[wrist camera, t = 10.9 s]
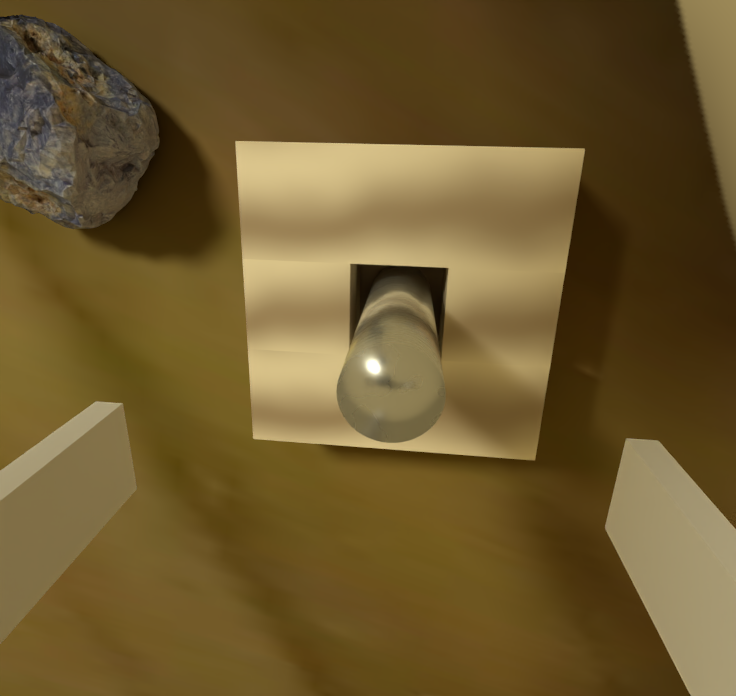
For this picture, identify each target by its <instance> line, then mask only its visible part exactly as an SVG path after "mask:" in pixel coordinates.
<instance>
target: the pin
mask: <svg viewBox="0 0 736 696" xmlns="http://www.w3.org/2000/svg"><path fill="white" fill-rule="evenodd" d="M336 393H337V401H338V405H339V408H340V411H341V413H342V415H343V417H344V418H345V419H346V421H347V422H348V423H349V424H350V426H351V427H352V428H354V429H355V430H356V431H357V432H359V433H360V434H362V435H364V436H366V437H368V438H370V439H373V440H375V441H380V442H386V443H399V442H405V441H409V440H412V439H415V438H417V437H419V436H421V435H423V434H424V433H426V432H427V431H428V430H429V429H430V428H432V427H433V425H434V424H435V423H436V422H437V420H438V419H439V417H440V415H441V413H442V411H443V408H444V405H445V399H446V390H445V383H444V377H443V370H442V363H441V357H440V350H439V343H438V337H437V330H436V323H435V317H434V310H433V303H432V297H431V290H430V285H429V282H428V280H427V278H426V277H425V275H424V274H423V273H422V272H421V271H420V270H418V269H417V268H415V267H413V266H394V265H392V266H389V267H387V268H385V269H384V270H382V271H381V272H380V273H379V274H378V275H377V277H376V278H375V280H374V282H373V284H372V287H371V290H370V293H369V295H368V298H367V301H366V304H365V306H364V309H363V312H362V315H361V318H360V320H359V323H358V326H357V329H356V331H355V334H354V337H353V340H352V343H351V345H350V348H349V351H348V354H347V356H346V359H345V362H344V365H343V367H342V370H341V373H340V376H339V379H338V383H337V391H336Z"/></svg>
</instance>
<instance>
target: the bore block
mask: <svg viewBox="0 0 736 696" xmlns="http://www.w3.org/2000/svg"><path fill="white" fill-rule="evenodd" d="M235 142H236V159H237V175H238V192H239V208H240V225H241V242H242V258H243V275H244V291H245V308H246V325H247V341H248V358H249V374H250V391H251V407H252V424H253V439H262V440H275V441H288V442H301V443H314V444H327V445H340V446H353V447H366V448H379V449H392V450H405V451H418V452H431V453H444V454H457V455H470V456H483V457H496V458H509V459H522V460H535V457H536V451H537V445H538V439H539V433H540V426H541V420H542V414H543V408H544V401H545V395H546V389H547V383H548V377H549V370H550V364H551V358H552V352H553V345H554V339H555V333H556V327H557V321H558V314H559V308H560V302H561V296H562V290H563V283H564V277H565V271H566V265H567V258H568V252H569V246H570V240H571V234H572V227H573V221H574V215H575V209H576V202H577V196H578V190H579V184H580V178H581V171H582V165H583V159H584V153H585V149H578V148H531V147H485V146H438V145H391V144H344V143H297V142H250V141H235ZM392 265H394V266H413V267H415V268H417V269H418V270H420V271H421V272H422V273H423V274H424V275H425V277H426V278H427V280H428V282H429V285H430V290H431V297H432V303H433V310H434V317H435V323H436V330H437V337H438V343H439V350H440V357H441V363H442V370H443V377H444V383H445V390H446V399H445V405H444V408H443V411H442V413H441V415H440V417H439V419H438V420H437V422H436V423H435V424H434V425H433V427H432V428H430V429H429V430H428V431H427V432H426V433H424V434H423V435H421V436H419V437H417V438H415V439H412V440H409V441H405V442H399V443H386V442H380V441H375V440H373V439H370V438H368V437H366V436H364V435H362V434H360V433H359V432H357V431H356V430H355V429H354V428H352V427H351V426H350V424H349V423H348V422H347V421H346V419H345V418H344V417H343V415H342V413H341V411H340V408H339V405H338V401H337V393H336V391H337V383H338V379H339V376H340V373H341V370H342V367H343V365H344V362H345V359H346V356H347V354H348V351H349V348H350V345H351V343H352V340H353V337H354V334H355V331H356V329H357V326H358V323H359V320H360V318H361V315H362V312H363V309H364V306H365V304H366V301H367V298H368V295H369V293H370V290H371V287H372V284H373V282H374V280H375V278H376V277H377V275H378V274H379V273H380V272H381V271H382V270H384V269H385V268H387V267H389V266H392Z"/></svg>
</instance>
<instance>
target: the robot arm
mask: <svg viewBox="0 0 736 696" xmlns="http://www.w3.org/2000/svg"><path fill="white" fill-rule="evenodd" d="M136 489H137V486H136V480H135V474H134V468H133V462H132V456H131V450H130V444H129V438H128V432H127V426H126V420H125V414H124V408H123V403H109V402H95V403H93V404H92V405H90V406H89V407H88V408H86V409H85V410H84V411H82V412H81V413H79V414H78V415H77V416H75V417H74V418H73V419H71V420H70V421H68V422H67V423H66V424H64V425H63V426H62V427H60V428H59V429H57V430H56V431H55V432H53V433H52V434H50V435H49V436H48V437H46V438H45V439H44V440H42V441H41V442H39V443H38V444H37V445H35V446H34V447H33V448H31V449H30V450H28V451H27V452H26V453H24V454H23V455H22V456H20V457H19V458H17V459H16V460H15V461H13V462H12V463H10V464H9V465H8V466H6V467H5V468H4V469H2V470H1V471H0V644H1V643H2V642H3V641H4V639H5V638H6V637H7V636H8V635H9V634H10V633H11V631H12V630H13V629H14V628H15V627H16V626H17V625H18V623H19V622H20V621H21V620H22V619H23V618H24V617H25V615H26V614H27V613H28V612H29V611H30V610H31V609H32V608H33V606H34V605H35V604H36V603H37V602H38V601H39V600H40V598H41V597H42V596H43V595H44V594H45V593H46V592H47V590H48V589H49V588H50V587H51V586H52V585H53V584H54V582H55V581H56V580H57V579H58V578H59V577H60V576H61V575H62V573H63V572H64V571H65V570H66V569H67V568H68V567H69V565H70V564H71V563H72V562H73V561H74V560H75V559H76V557H77V556H78V555H79V554H80V553H81V552H82V551H83V549H84V548H85V547H86V546H87V545H88V544H89V543H90V542H91V540H92V539H93V538H94V537H95V536H96V535H97V534H98V532H99V531H100V530H101V529H102V528H103V527H104V526H105V524H106V523H107V522H108V521H109V520H110V519H111V518H112V516H113V515H114V514H115V513H116V512H117V511H118V510H119V509H120V507H121V506H122V505H123V504H124V503H125V502H126V501H127V499H128V498H129V497H130V496H131V495H132V494H133V493H134V491H135V490H136ZM605 529H606V531H607V533H608V535H609V537H610V539H611V541H612V543H613V545H614V547H615V549H616V551H617V553H618V555H619V557H620V559H621V561H622V563H623V565H624V567H625V569H626V570H627V572H628V574H629V576H630V578H631V580H632V582H633V584H634V586H635V588H636V590H637V592H638V594H639V596H640V598H641V600H642V602H643V604H644V606H645V608H646V609H647V611H648V613H649V615H650V617H651V619H652V621H653V623H654V625H655V627H656V629H657V631H658V633H659V635H660V637H661V639H662V641H663V643H664V645H665V647H666V649H667V650H668V652H669V654H670V656H671V658H672V660H673V662H674V664H675V666H676V668H677V670H678V672H679V674H680V676H681V678H682V680H683V682H684V684H685V686H686V688H687V690H688V691H689V693H690V695H691V696H736V529H735V528H734V527H733V526H732V525H731V523H730V522H729V521H728V520H727V519H726V518H725V516H724V515H723V514H722V513H721V512H720V511H719V510H718V508H717V507H716V506H715V505H714V504H713V503H712V502H711V500H710V499H709V498H708V497H707V496H706V495H705V494H704V492H703V491H702V490H701V489H700V488H699V487H698V486H697V484H696V483H695V482H694V481H693V480H692V479H691V477H690V476H689V475H688V474H687V473H686V472H685V471H684V469H683V468H682V467H681V466H680V465H679V464H678V463H677V461H676V460H675V459H674V458H673V457H672V456H671V455H670V453H669V452H668V451H667V450H666V449H665V448H664V446H663V445H662V444H661V443H660V442H659V441H658V440H644V439H630V438H626V441H625V445H624V449H623V453H622V457H621V462H620V466H619V470H618V474H617V479H616V483H615V487H614V491H613V495H612V500H611V504H610V508H609V512H608V517H607V521H606V525H605Z"/></svg>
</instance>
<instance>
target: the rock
mask: <svg viewBox="0 0 736 696" xmlns="http://www.w3.org/2000/svg"><path fill="white" fill-rule="evenodd" d="M158 134H159V127H158V122H157V117H156V114H155V111H154V109H153V107H152V105H151V103H150V101H149V100H148V99H147V98H146V97H144V96H143V95H141V93H140V92H139V91H138V90H137V89H136V88H135V86H134V85H133V84H132V83H131V82H130V81H129V80H128V79H126V78H125V77H124V76H122V75H121V74H120V73H119V72H117V71H116V70H115V69H112V68H110V67H108V66H107V65H106V64H104V63H103V62H102V61H101V60H100V59H98V58H97V57H95V56H94V54H93V53H92V52H91V51H90V50H89V49H88V48H87V47H86V46H85V45H83V44H82V43H81V42H80V41H79V40H77V39H76V38H75V37H74V36H73V35H71V34H70V33H68V32H67V31H65V30H64V29H62V28H61V27H59V26H57V25H55V24H53V23H48V22H45V21H43V20H42V19H38V18H36V17H29V16H23V15H19V16H18V15H16V16H14V15H13V16H7V17H0V199H1V200H3V201H5V202H6V203H13V204H14V205H15V206H18V207H22V208H24V209H26V210H28V211H29V212H30V213H31V214H35V213H41V214H43V215H44V216H46V217H47V218H49V219H51V220H52V221H54V222H56V223H58V224H60V225H62V226H64V227H67V228H71V229H84V228H95V227H98V226H100V225H102V224H104V223H106V222H108V221H110V220H111V219H112V218H113V217H114V216H115V214H116V213H117V212H118V211H119V210H121V209H122V208H123V207H124V206H125V205H126V204H127V203H128V202H129V201H130V200H131V198H132V196H133V194H134V192H135V191H136V190H137V185H138V181H139V179H140V178H141V177H142V176H143V174H144V172H145V171H146V169H147V167H148V165H149V162H150V160H151V158H152V157H153V156H154V155H155V154H154V150H155V149H157V148H158V147H159V142H160V141H159V136H158Z"/></svg>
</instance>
